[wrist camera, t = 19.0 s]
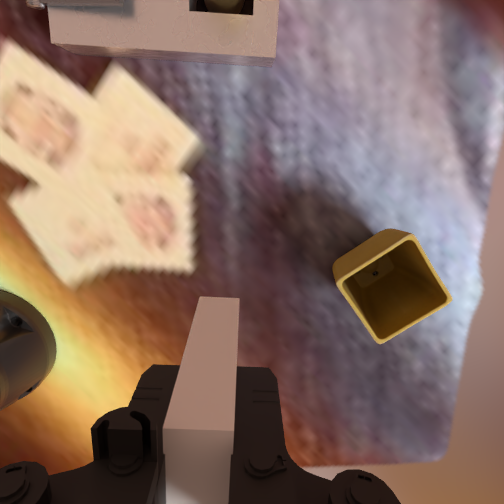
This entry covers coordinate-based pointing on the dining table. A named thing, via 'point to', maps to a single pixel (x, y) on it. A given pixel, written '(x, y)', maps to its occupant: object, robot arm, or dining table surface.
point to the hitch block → (168, 32)
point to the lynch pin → (224, 6)
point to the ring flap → (72, 3)
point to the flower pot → (390, 283)
